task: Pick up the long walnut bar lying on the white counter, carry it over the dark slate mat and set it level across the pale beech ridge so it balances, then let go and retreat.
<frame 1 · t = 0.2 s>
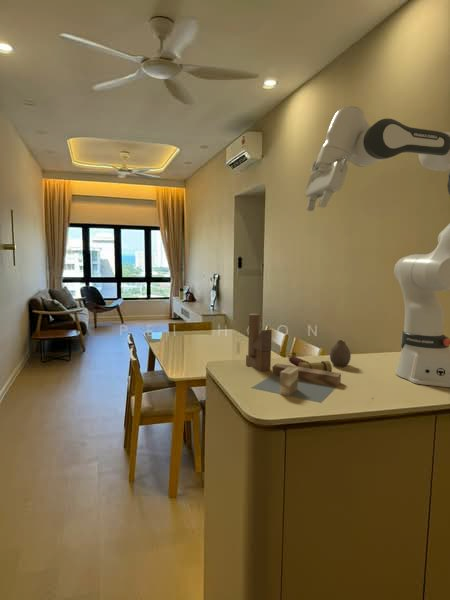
hand: (315, 208, 115), 51 cm above the countertop, tool tilted 20°, fingers open, 8 cm apart
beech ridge: (288, 391, 108), resting on slate mat
gavel: (302, 369, 135), on the countertop
vase: (339, 366, 138), on the countertop
slate mat: (293, 390, 112), on the countertop
walnut bar: (305, 382, 120), on the countertop
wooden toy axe: (257, 369, 132), on the countertop
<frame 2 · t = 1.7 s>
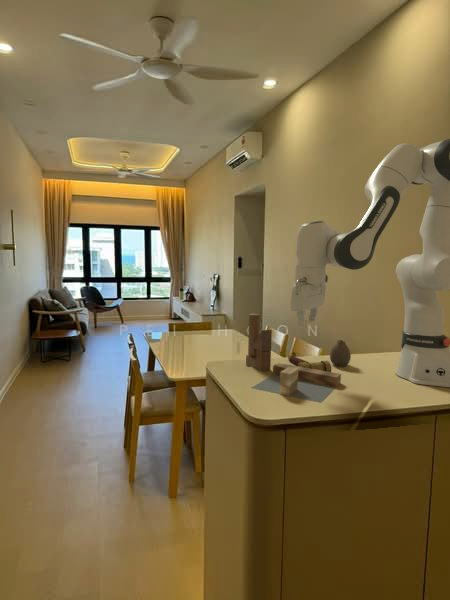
hand: (307, 323, 118), 18 cm above the countertop, tool pointing down, fingers open, 8 cm apart
nothing on the countertop moved.
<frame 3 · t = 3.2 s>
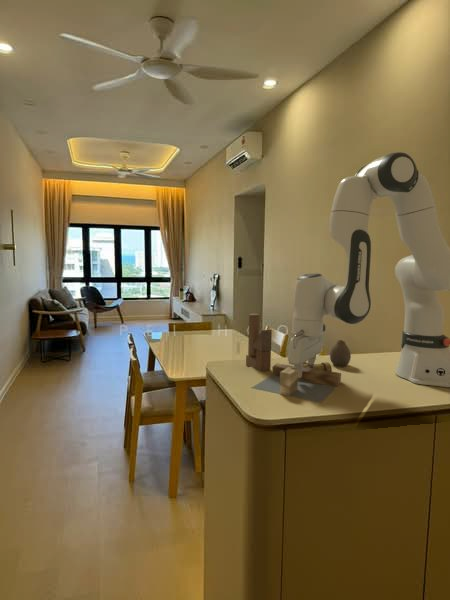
hand: (304, 373, 119), 3 cm above the countertop, tool pointing down, fingers open, 8 cm apart
gavel: (302, 370, 135), on the countertop, touching gripper
everything else where it was.
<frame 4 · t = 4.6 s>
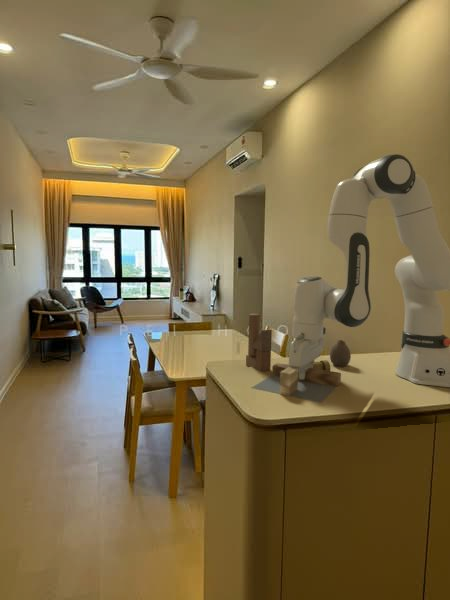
hand: (305, 376, 120), 2 cm above the countertop, tool pointing down, fingers closed on walnut bar, 4 cm apart
gavel: (302, 368, 136), on the countertop
walnut bar: (305, 382, 120), on the countertop, touching gripper
everything else where it was.
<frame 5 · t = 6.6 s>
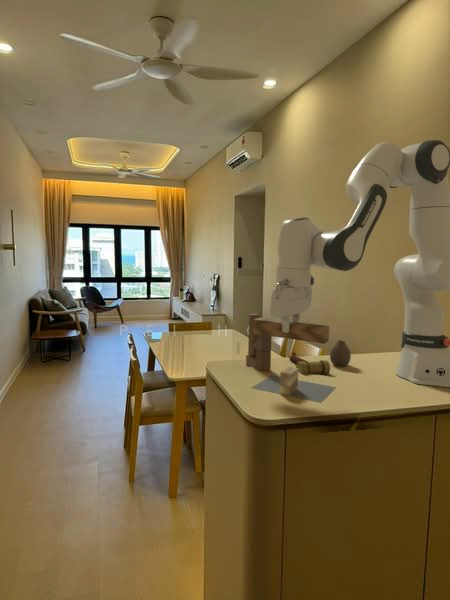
hand: (290, 330, 107), 18 cm above the countertop, tool pointing down, fingers closed on walnut bar, 4 cm apart
walnut bar: (289, 337, 107), point 16 cm above the countertop, touching gripper
everything else where it was.
when the fingers open (10 cm above the countertop, at t = 8.8 s): walnut bar stays where it is, resting on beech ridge.
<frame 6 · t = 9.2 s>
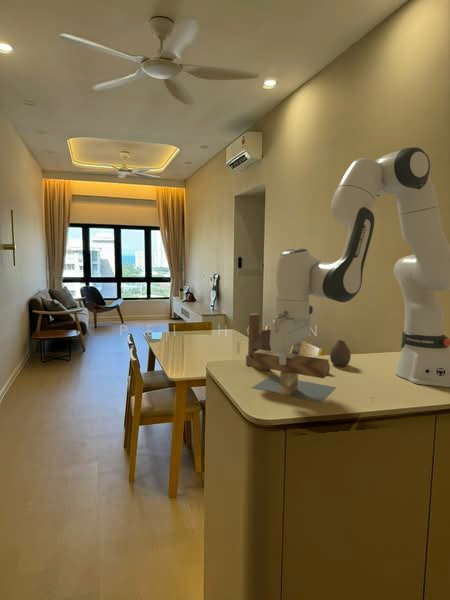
hand: (289, 360, 107), 10 cm above the countertop, tool pointing down, fingers open, 8 cm apart
walnut bar: (289, 370, 107), point 7 cm above the countertop, touching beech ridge
everything else where it was.
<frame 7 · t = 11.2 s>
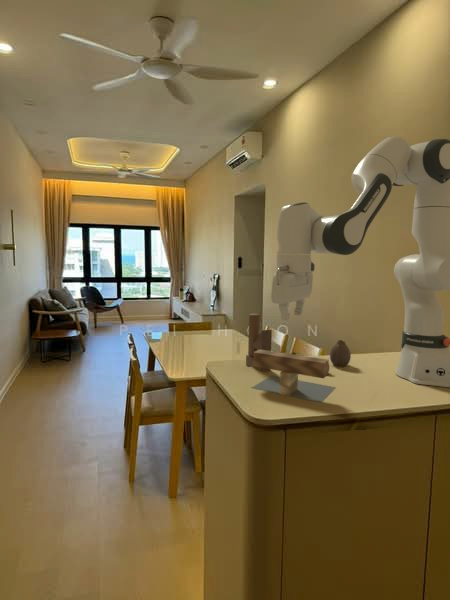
hand: (291, 317, 106), 21 cm above the countertop, tool pointing down, fingers open, 8 cm apart
nothing on the countertop moved.
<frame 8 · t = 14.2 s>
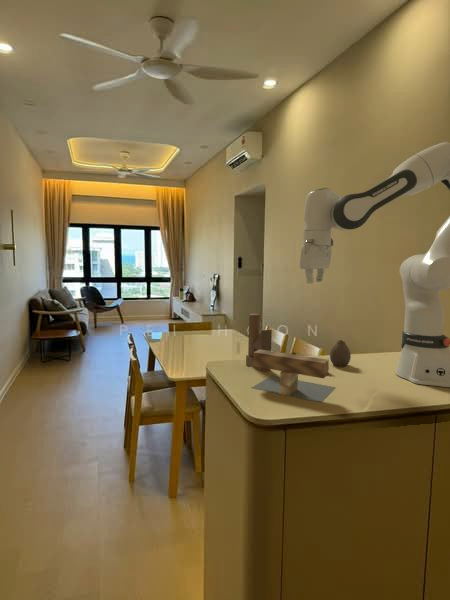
hand: (314, 282, 130), 29 cm above the countertop, tool pointing down, fingers open, 8 cm apart
at the end: walnut bar 0.1 cm from the target spot, point 6.8 cm above the countertop; walnut bar tilted 0°; walnut bar touching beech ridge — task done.
